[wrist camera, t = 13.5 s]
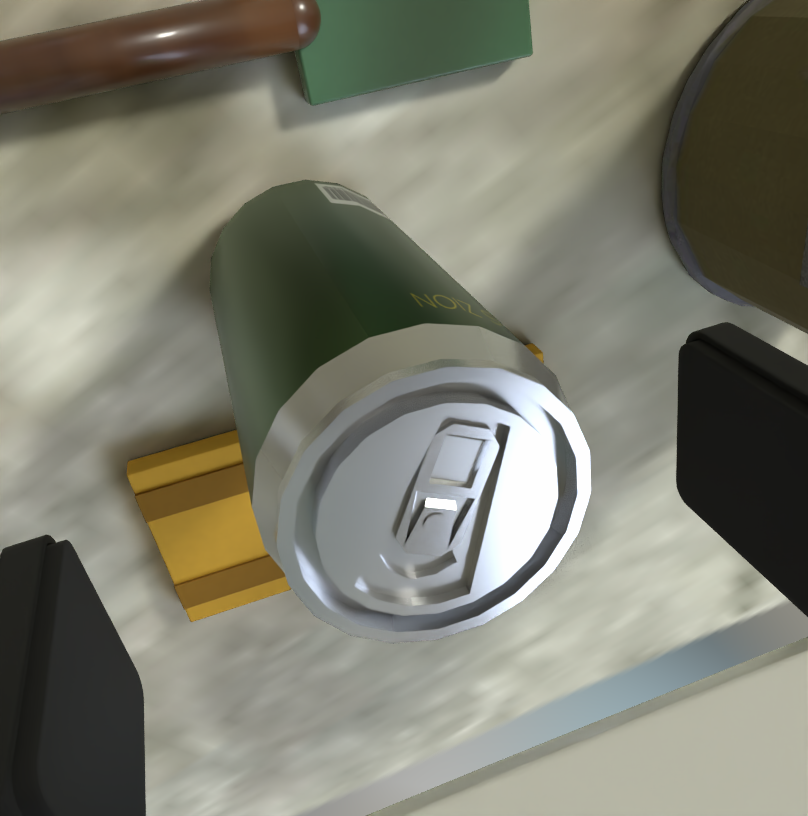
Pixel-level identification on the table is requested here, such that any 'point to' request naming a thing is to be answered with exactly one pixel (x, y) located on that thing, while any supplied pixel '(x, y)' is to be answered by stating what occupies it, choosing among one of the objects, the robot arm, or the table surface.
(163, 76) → the spatula
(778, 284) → the canister
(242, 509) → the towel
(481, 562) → the beer can
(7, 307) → the table surface
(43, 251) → the table surface
